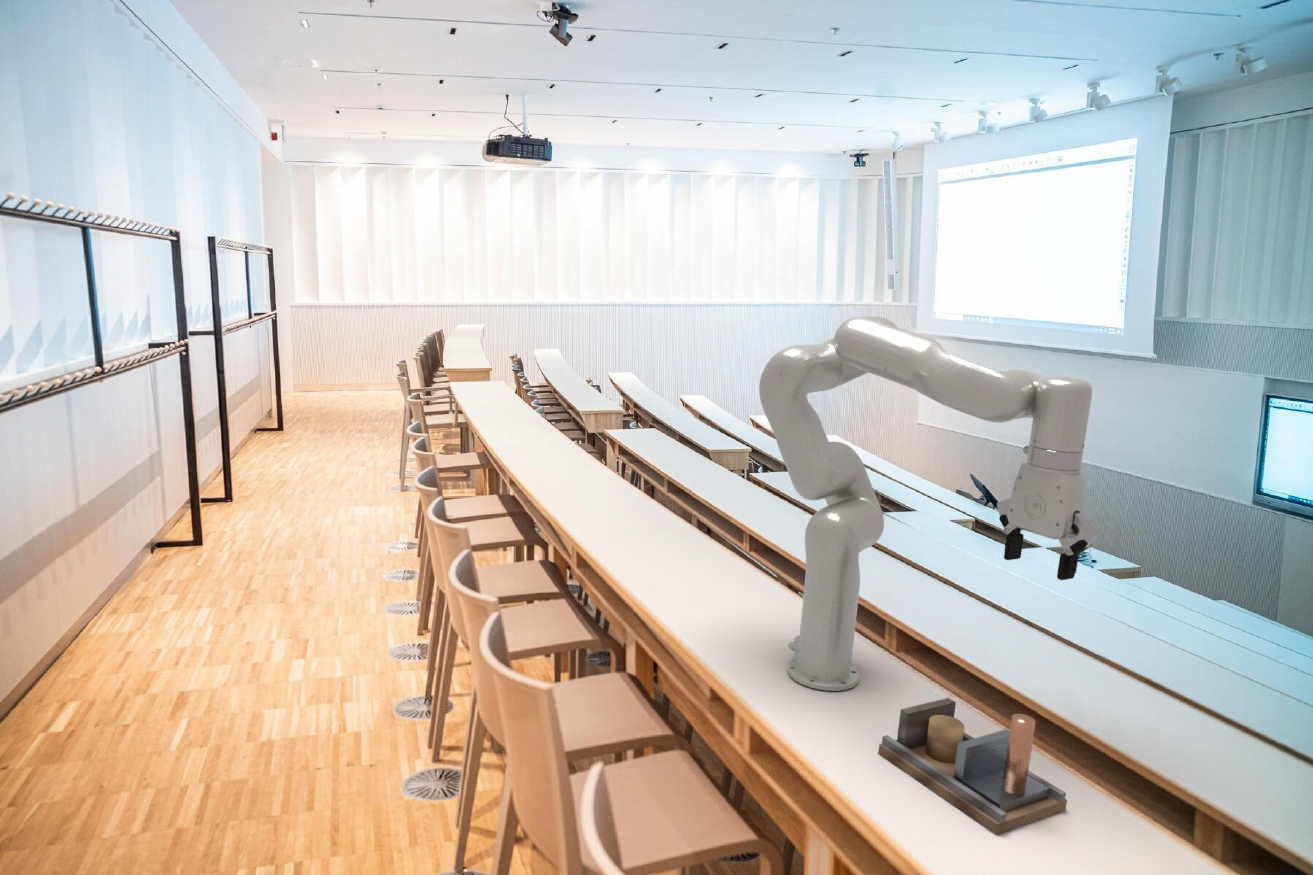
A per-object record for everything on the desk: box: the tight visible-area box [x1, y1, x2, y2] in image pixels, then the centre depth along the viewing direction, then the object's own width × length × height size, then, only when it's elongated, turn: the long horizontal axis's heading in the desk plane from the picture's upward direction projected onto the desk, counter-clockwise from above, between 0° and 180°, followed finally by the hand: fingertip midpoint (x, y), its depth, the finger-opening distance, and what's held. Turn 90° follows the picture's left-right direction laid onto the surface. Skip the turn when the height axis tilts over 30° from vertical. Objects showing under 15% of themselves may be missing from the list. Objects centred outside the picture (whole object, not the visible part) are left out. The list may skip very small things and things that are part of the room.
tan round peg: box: [925, 715, 965, 763], centre depth 135 cm, size 5×5×5 cm
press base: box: [877, 697, 1068, 836], centre depth 131 cm, size 22×14×8 cm, turn 30°
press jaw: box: [953, 713, 1050, 811], centre depth 126 cm, size 8×10×12 cm
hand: (1037, 568), depth 140 cm, fingers open, 9 cm apart
